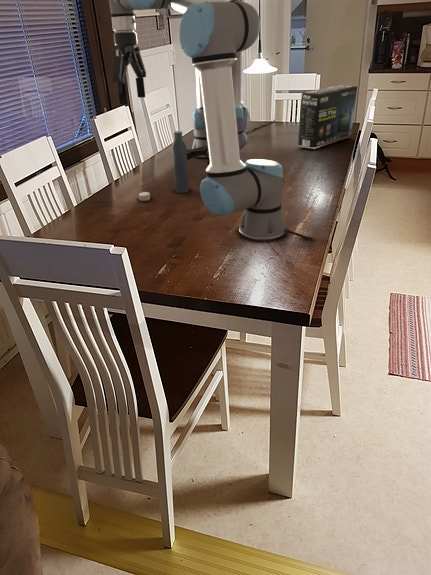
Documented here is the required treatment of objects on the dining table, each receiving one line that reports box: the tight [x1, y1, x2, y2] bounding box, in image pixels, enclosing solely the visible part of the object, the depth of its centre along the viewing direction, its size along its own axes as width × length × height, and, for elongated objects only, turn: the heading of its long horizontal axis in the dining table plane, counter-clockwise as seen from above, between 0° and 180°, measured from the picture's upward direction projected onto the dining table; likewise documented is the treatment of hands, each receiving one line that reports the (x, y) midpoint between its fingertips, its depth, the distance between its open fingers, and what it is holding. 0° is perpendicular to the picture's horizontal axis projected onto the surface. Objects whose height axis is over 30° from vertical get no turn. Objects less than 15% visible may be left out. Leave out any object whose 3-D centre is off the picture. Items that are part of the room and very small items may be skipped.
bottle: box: [171, 130, 190, 194], centre depth 182 cm, size 6×6×23 cm
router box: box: [297, 84, 358, 151], centre depth 238 cm, size 36×11×27 cm, turn 134°
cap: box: [138, 191, 151, 202], centre depth 180 cm, size 4×4×2 cm
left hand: (194, 161), depth 189 cm, fingers open, 13 cm apart
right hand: (133, 100), depth 162 cm, fingers open, 13 cm apart
